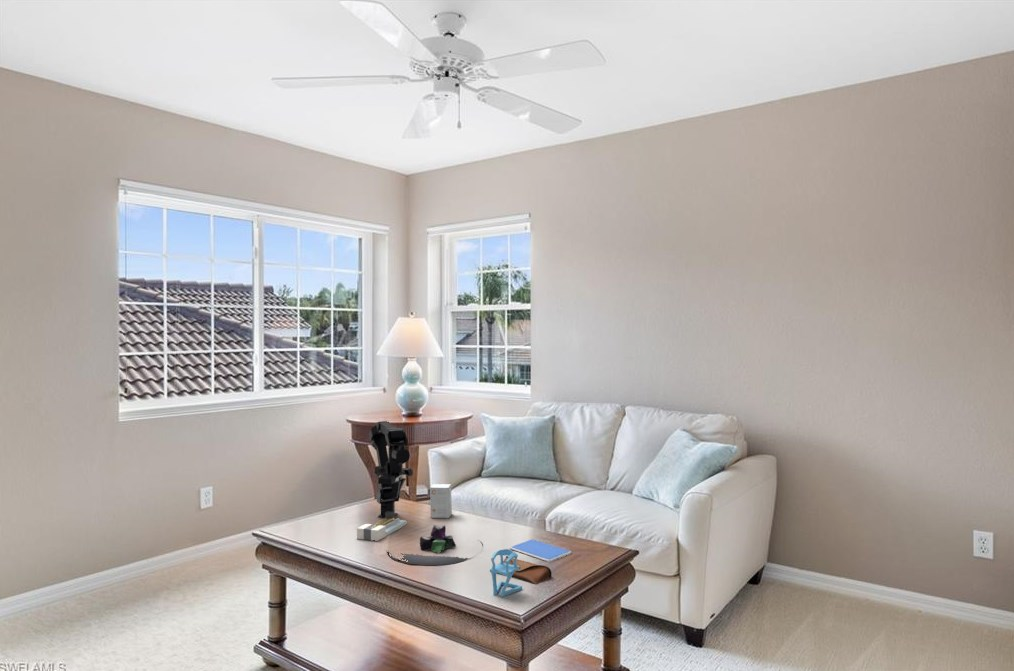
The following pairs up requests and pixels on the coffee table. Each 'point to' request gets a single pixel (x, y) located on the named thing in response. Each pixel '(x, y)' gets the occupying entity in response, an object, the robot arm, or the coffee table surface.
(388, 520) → the bolt
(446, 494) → the small box
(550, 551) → the tablet computer
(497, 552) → the chair
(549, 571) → the sunglasses case
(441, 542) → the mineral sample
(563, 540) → the coffee table surface
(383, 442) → the robot arm
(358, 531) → the door and jamb
